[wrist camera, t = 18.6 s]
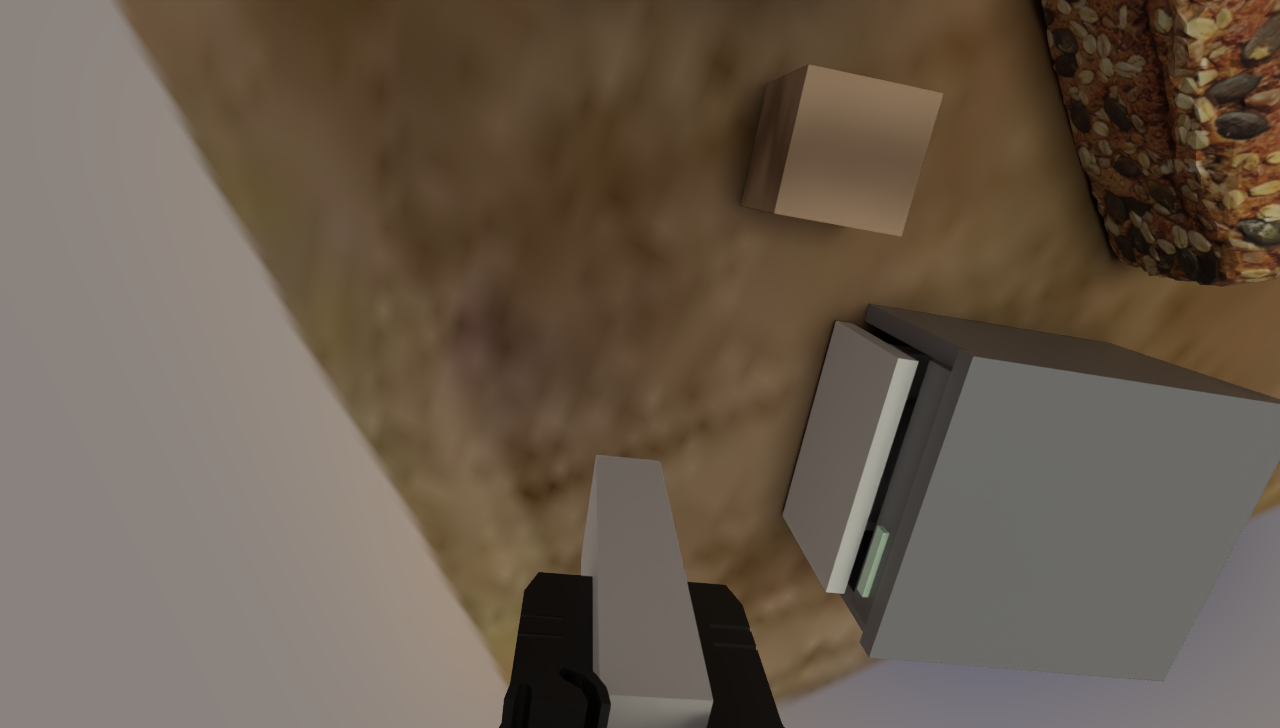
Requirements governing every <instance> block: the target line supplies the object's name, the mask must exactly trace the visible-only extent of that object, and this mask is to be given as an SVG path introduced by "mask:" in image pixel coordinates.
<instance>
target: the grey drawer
mask: <svg viewBox="0 0 1280 728" xmlns="http://www.w3.org/2000/svg"><path fill="white" fill-rule="evenodd" d="M930 360H933V361H938V360H936V359H934V358H932V357H930V356H929V355H927V354H925V353H923V352H921V351H919V350H918V349H916V348H913V347H906V346H900V345H893V344H888V343H886V342H884V341H882V340H881V339H879V338H877V337H875V336H874V335H872V334H870V333H869V332H867V331H865V330H863V329H862V328H860V327H858V326H856V325H855V324H853V323H847V322H841V321H836V322H835V326H834V330H833V333H832V337H831V341H830V344H829V348H828V352H827V355H826V359H825V363H824V366H823V370H822V373H821V377H820V381H819V384H818V388H817V392H816V395H815V399H814V403H813V406H812V410H811V414H810V417H809V421H808V425H807V428H806V432H805V435H804V439H803V443H802V446H801V450H800V454H799V457H798V461H797V465H796V468H795V472H794V476H793V479H792V483H791V487H790V490H789V494H788V497H787V501H786V505H785V508H784V512H783V518H784V520H785V521H786V523H787V525H788V527H789V528H790V530H791V532H792V534H793V535H794V537H795V539H796V541H797V542H798V544H799V546H800V548H801V549H802V551H803V553H804V555H805V556H806V558H807V560H808V562H809V563H810V565H811V567H812V569H813V570H814V572H815V574H816V576H817V577H818V579H819V581H820V583H821V584H822V586H823V588H824V590H825V591H826V592H831V593H841V594H844V593H845V590H846V587H847V584H848V580H849V577H850V574H851V571H852V568H853V565H854V562H855V559H856V555H857V552H858V549H859V546H860V543H861V540H862V537H863V534H864V531H865V530H869V531H874V529H875V526H876V523H877V520H878V517H879V514H880V511H881V508H882V505H883V502H884V499H885V496H886V492H887V489H888V486H889V483H890V480H891V477H892V474H893V471H894V468H895V465H896V462H897V459H898V456H899V453H900V450H901V446H902V443H903V440H904V437H905V434H906V431H907V428H908V425H909V422H910V419H911V416H912V413H913V410H914V407H915V403H916V400H917V397H918V394H919V391H920V388H921V385H922V382H923V379H924V376H925V373H926V370H927V367H928V364H929V361H930ZM939 362H940V361H939Z"/></svg>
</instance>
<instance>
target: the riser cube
mask: <svg viewBox="0 0 1280 728" xmlns="http://www.w3.org/2000/svg"><path fill="white" fill-rule="evenodd" d="M943 94H944V93H939V92H935V91H930V90H925V89H921V88H916V87H912V86H907V85H902V84H898V83H893V82H889V81H884V80H879V79H875V78H870V77H866V76H861V75H856V74H852V73H847V72H843V71H838V70H833V69H829V68H824V67H820V66H815V65H810V64H808V65H806V66H804V67H802V68H800V69H797V70H795V71H793V72H791V73H789V74H787V75H785V76H783V77H781V78H778V79H776V80H774V81H772V82H770V83H768V84H767V86H766V91H765V96H764V100H763V105H762V110H761V114H760V119H759V123H758V128H757V133H756V137H755V142H754V147H753V151H752V156H751V160H750V165H749V170H748V174H747V179H746V184H745V188H744V193H743V197H742V202H741V206H744V207H748V208H753V209H757V210H761V211H766V212H770V213H775V214H780V215H786V216H791V217H797V218H802V219H808V220H813V221H819V222H824V223H830V224H835V225H841V226H846V227H852V228H857V229H863V230H868V231H874V232H879V233H885V234H890V235H896V236H901V237H902V233H903V230H904V226H905V223H906V220H907V216H908V213H909V209H910V206H911V203H912V199H913V196H914V192H915V189H916V185H917V182H918V179H919V175H920V172H921V168H922V165H923V162H924V158H925V155H926V151H927V148H928V145H929V141H930V138H931V134H932V131H933V128H934V124H935V121H936V117H937V114H938V111H939V107H940V104H941V100H942V97H943Z"/></svg>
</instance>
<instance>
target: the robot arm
mask: <svg viewBox="0 0 1280 728" xmlns="http://www.w3.org/2000/svg"><path fill="white" fill-rule="evenodd" d="M499 728H785V727H783V724H782V722H781V720H780V717H779V714H778V711H777V708H776V705H775V702H774V699H773V696H772V693H771V690H770V687H769V684H768V681H767V678H766V675H765V672H764V669H763V666H762V663H761V659H760V656H759V653H758V650H756V644H755V641H754V638H753V635H752V632H750V626H749V623H748V620H747V617H746V614H745V611H744V608H743V605H742V604H741V603H740V602H739V600H738V599H737V598H736V597H735V596H734V594H733V593H732V592H731V591H730V590H729V589H728V587H727V586H726V585H719V584H707V583H694V582H687V580H686V575H685V571H684V566H683V562H682V557H681V553H680V548H679V543H678V539H677V534H676V530H675V525H674V521H673V516H672V512H671V507H670V503H669V498H668V494H667V489H666V485H665V480H664V476H663V471H662V467H661V462H660V461H655V460H645V459H635V458H625V457H616V456H606V455H596V459H595V466H594V473H593V480H592V487H591V494H590V500H589V507H588V514H587V521H586V528H585V535H584V542H583V549H582V561H581V575H568V574H556V573H543V572H539V573H538V574H537V575H536V576H535V578H534V579H533V580H532V581H531V583H530V584H529V585H528V587H527V588H526V589H525V590H524V597H523V603H522V610H521V617H520V623H519V629H518V637H517V642H516V649H515V656H514V662H513V669H512V675H511V682H510V685H509V688H508V690H507V693H506V695H505V698H504V705H503V714H502V723H501V725H500V727H499Z"/></svg>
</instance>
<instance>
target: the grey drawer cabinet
mask: <svg viewBox="0 0 1280 728" xmlns="http://www.w3.org/2000/svg"><path fill="white" fill-rule="evenodd" d="M864 321H866V322H868V323H869V324H871V325H873V326H875V327H877V328H879V329H880V330H882V331H884V332H886V333H888V334H890V335H892V336H893V337H895V338H897V339H899V340H901V341H903V342H905V343H906V344H908V345H910V346H912V347H914V348H916V349H918V350H919V351H921V352H923V353H925V354H927V355H929V356H930V357H932V358H934V359H936V360H938V361H933V360H930V361H929V364H928V367H927V370H926V373H925V376H924V379H923V382H922V385H921V388H920V391H919V394H918V397H917V400H916V403H915V407H914V410H913V413H912V416H911V419H910V422H909V425H908V428H907V431H906V434H905V437H904V440H903V443H902V446H901V450H900V453H899V456H898V459H897V462H896V465H895V468H894V471H893V474H892V477H891V480H890V483H889V486H888V489H887V492H886V496H885V499H884V502H883V505H882V508H881V511H880V514H879V517H878V520H877V523H876V526H875V529H874V531H869V530H865V531H864V534H863V537H862V540H861V543H860V546H859V549H858V552H857V555H856V559H855V562H854V565H853V568H852V571H851V574H850V577H849V580H848V584H847V587H846V590H845V593H844V594H841V593H840V595H841V596H842V598H843V600H844V601H845V603H846V605H847V606H848V608H849V610H850V611H851V613H852V615H853V616H854V618H855V620H856V621H857V623H858V625H859V626H860V628H861V630H862V631H863V634H862V637H861V640H860V643H861V645H862V647H863V648H864V650H865V652H866V653H867V655H868V657H869V658H879V659H892V660H904V661H916V662H929V663H941V664H953V665H965V666H978V667H990V668H1003V669H1014V670H1027V671H1040V672H1051V673H1052V672H1053V673H1065V674H1077V675H1088V676H1101V677H1113V678H1125V679H1137V680H1151V681H1162V682H1163V681H1164V679H1165V678H1166V676H1167V674H1168V672H1169V670H1170V668H1171V666H1172V664H1173V662H1174V660H1175V659H1176V657H1177V655H1178V653H1179V651H1180V649H1181V647H1182V645H1183V643H1184V641H1185V639H1186V638H1187V635H1188V633H1189V632H1190V630H1191V628H1192V626H1193V624H1194V622H1195V620H1196V618H1197V617H1198V615H1199V613H1200V611H1201V609H1202V607H1203V605H1204V603H1205V601H1206V599H1207V597H1208V596H1209V594H1210V592H1211V590H1212V588H1213V586H1214V584H1215V582H1216V580H1217V578H1218V577H1219V575H1220V572H1221V571H1222V569H1223V567H1224V565H1225V563H1226V561H1227V559H1228V557H1229V555H1230V554H1231V552H1232V550H1233V548H1234V546H1235V544H1236V542H1237V540H1238V538H1239V536H1240V535H1241V533H1242V531H1243V529H1244V527H1245V525H1246V523H1247V521H1248V519H1249V517H1250V516H1251V514H1252V512H1253V510H1254V508H1255V506H1256V504H1257V502H1258V500H1259V498H1260V496H1261V495H1262V493H1263V491H1264V489H1265V487H1266V485H1267V483H1268V481H1269V479H1270V477H1271V475H1272V474H1273V472H1274V470H1275V468H1276V466H1277V464H1278V462H1279V460H1280V399H1277V398H1274V397H1271V396H1268V395H1265V394H1262V393H1259V392H1256V391H1253V390H1250V389H1247V388H1244V387H1241V386H1238V385H1235V384H1232V383H1229V382H1226V381H1223V380H1220V379H1217V378H1214V377H1211V376H1208V375H1205V374H1202V373H1198V372H1195V371H1192V370H1189V369H1186V368H1183V367H1180V366H1177V365H1174V364H1171V363H1168V362H1165V361H1162V360H1159V359H1156V358H1153V357H1150V356H1147V355H1144V354H1141V353H1138V352H1135V351H1132V350H1129V349H1126V348H1123V347H1120V346H1117V345H1114V344H1111V343H1105V342H1099V341H1093V340H1087V339H1081V338H1075V337H1069V336H1063V335H1056V334H1050V333H1044V332H1038V331H1032V330H1026V329H1020V328H1014V327H1008V326H1002V325H996V324H989V323H983V322H977V321H971V320H965V319H959V318H953V317H947V316H941V315H935V314H929V313H922V312H916V311H910V310H904V309H898V308H892V307H886V306H880V305H874V304H869V307H868V310H867V313H866V317H865V320H864ZM939 361H940V362H939Z"/></svg>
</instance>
